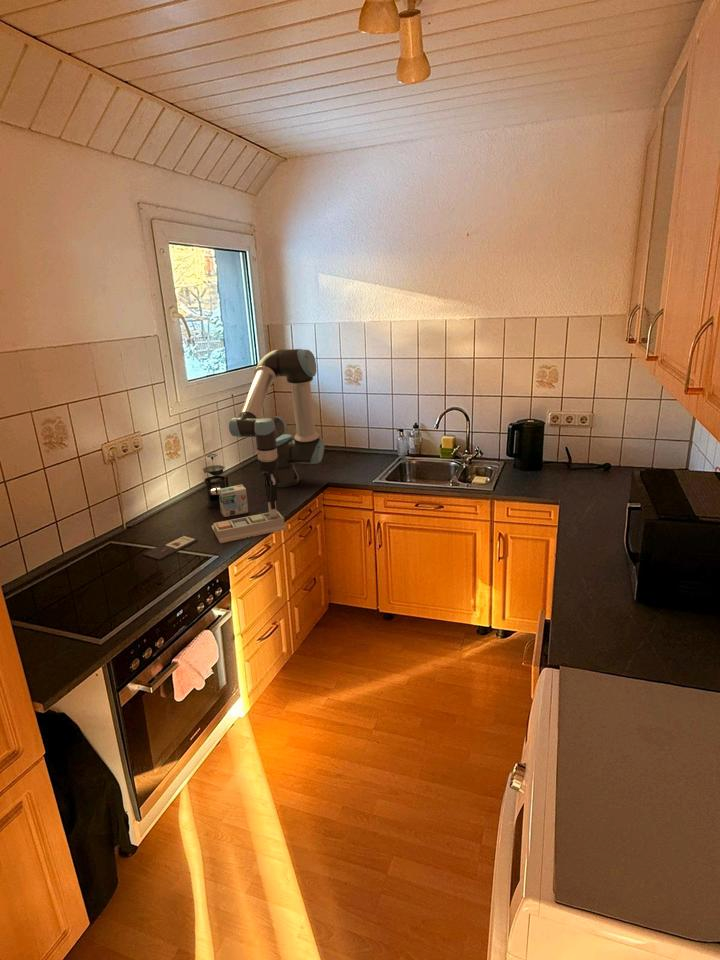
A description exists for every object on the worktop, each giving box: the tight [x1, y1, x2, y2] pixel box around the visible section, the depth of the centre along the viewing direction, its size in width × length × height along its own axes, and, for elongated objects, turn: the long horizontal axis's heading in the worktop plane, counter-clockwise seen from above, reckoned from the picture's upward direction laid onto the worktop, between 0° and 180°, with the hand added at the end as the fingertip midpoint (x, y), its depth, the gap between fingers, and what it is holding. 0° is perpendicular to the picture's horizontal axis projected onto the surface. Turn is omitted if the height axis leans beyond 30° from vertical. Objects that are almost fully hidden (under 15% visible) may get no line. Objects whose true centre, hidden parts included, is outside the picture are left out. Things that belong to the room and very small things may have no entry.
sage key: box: [250, 514, 264, 524], centre depth 221 cm, size 4×4×2 cm
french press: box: [202, 453, 230, 509], centre depth 245 cm, size 12×9×23 cm
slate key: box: [234, 521, 248, 527], centre depth 219 cm, size 4×4×2 cm
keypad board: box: [211, 510, 287, 544], centre depth 221 cm, size 26×16×4 cm, turn 115°
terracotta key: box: [216, 520, 231, 530], centre depth 216 cm, size 4×4×2 cm
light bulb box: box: [218, 484, 249, 518], centre depth 237 cm, size 11×7×11 cm, turn 118°
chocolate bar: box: [142, 534, 199, 561], centre depth 208 cm, size 9×1×18 cm
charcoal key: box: [266, 515, 279, 520], centre depth 224 cm, size 4×4×2 cm
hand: (273, 515), depth 224 cm, fingers closed
